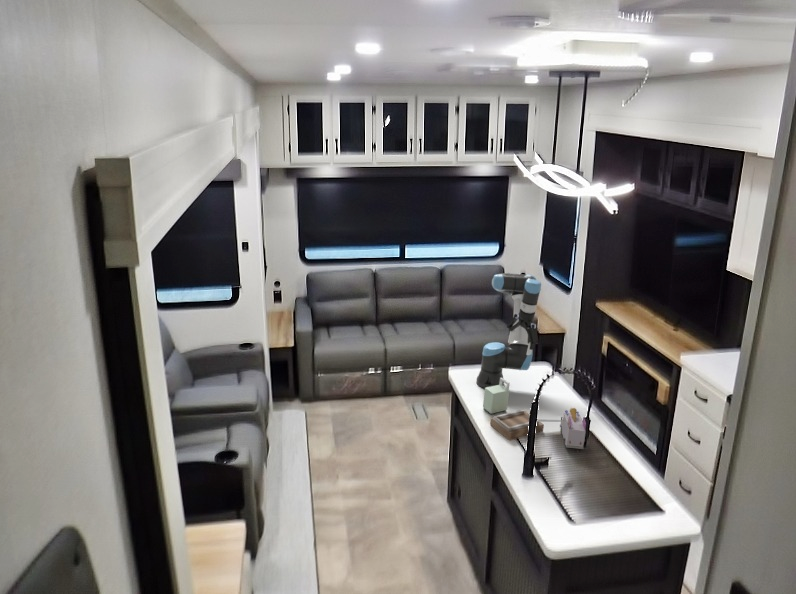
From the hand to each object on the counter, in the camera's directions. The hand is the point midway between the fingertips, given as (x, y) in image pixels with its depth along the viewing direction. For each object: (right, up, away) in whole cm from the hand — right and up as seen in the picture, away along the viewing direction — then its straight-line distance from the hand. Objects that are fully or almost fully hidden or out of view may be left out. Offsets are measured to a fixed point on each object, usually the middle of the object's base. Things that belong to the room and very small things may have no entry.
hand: (519, 348), depth 314 cm
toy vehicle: (+20, -42, -22) cm, 51 cm away
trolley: (-12, -32, +2) cm, 34 cm away
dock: (-4, -37, -14) cm, 40 cm away
